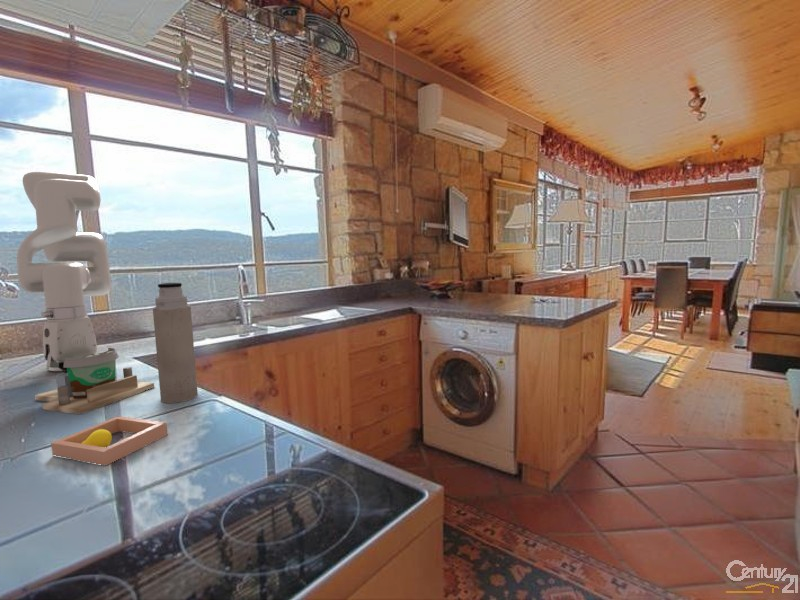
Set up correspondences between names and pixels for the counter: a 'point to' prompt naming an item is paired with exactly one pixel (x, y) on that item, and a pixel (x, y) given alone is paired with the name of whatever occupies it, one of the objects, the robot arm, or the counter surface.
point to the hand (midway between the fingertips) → (74, 385)
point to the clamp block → (64, 381)
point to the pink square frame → (100, 455)
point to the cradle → (94, 395)
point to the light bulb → (99, 438)
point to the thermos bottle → (174, 344)
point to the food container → (90, 371)
